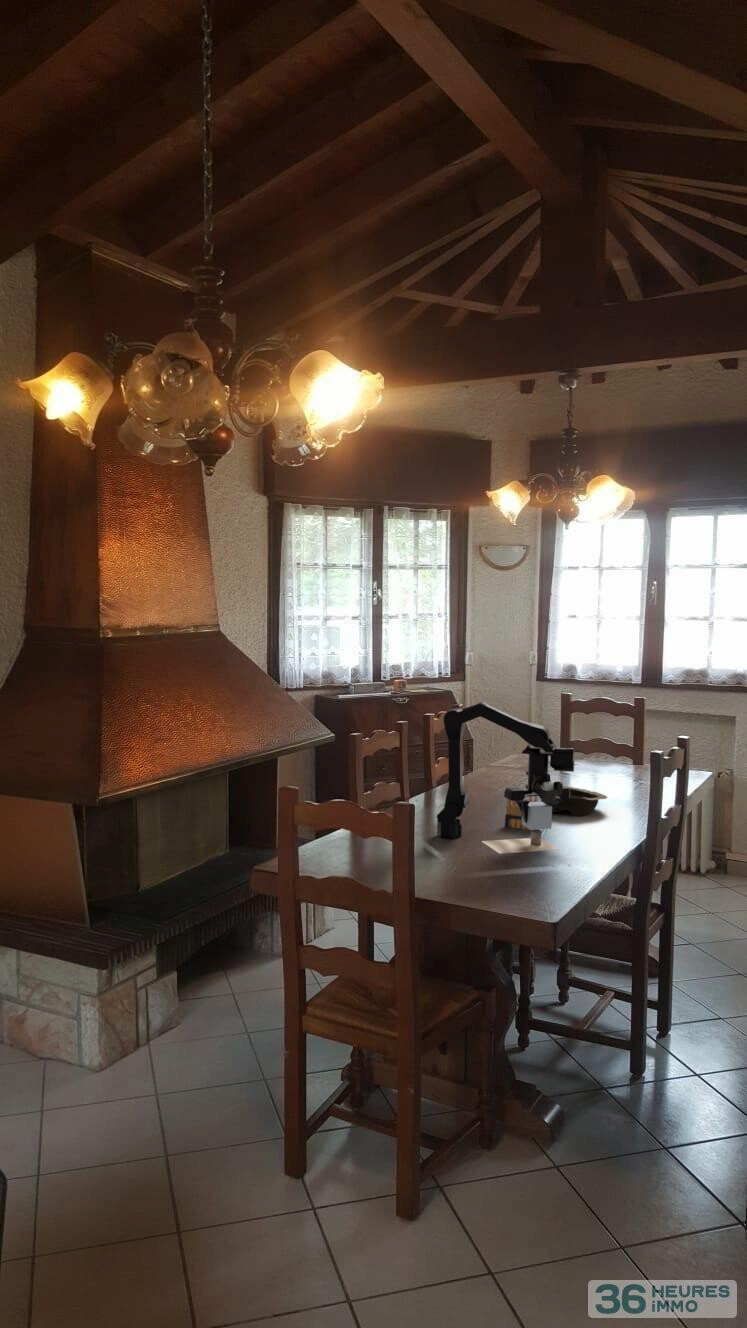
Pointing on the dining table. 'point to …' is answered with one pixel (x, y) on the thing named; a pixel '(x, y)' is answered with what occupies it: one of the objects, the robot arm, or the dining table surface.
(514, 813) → the ammunition clip
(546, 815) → the pale grey cube
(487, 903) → the dining table surface
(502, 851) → the stub board
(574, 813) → the stone bowl
